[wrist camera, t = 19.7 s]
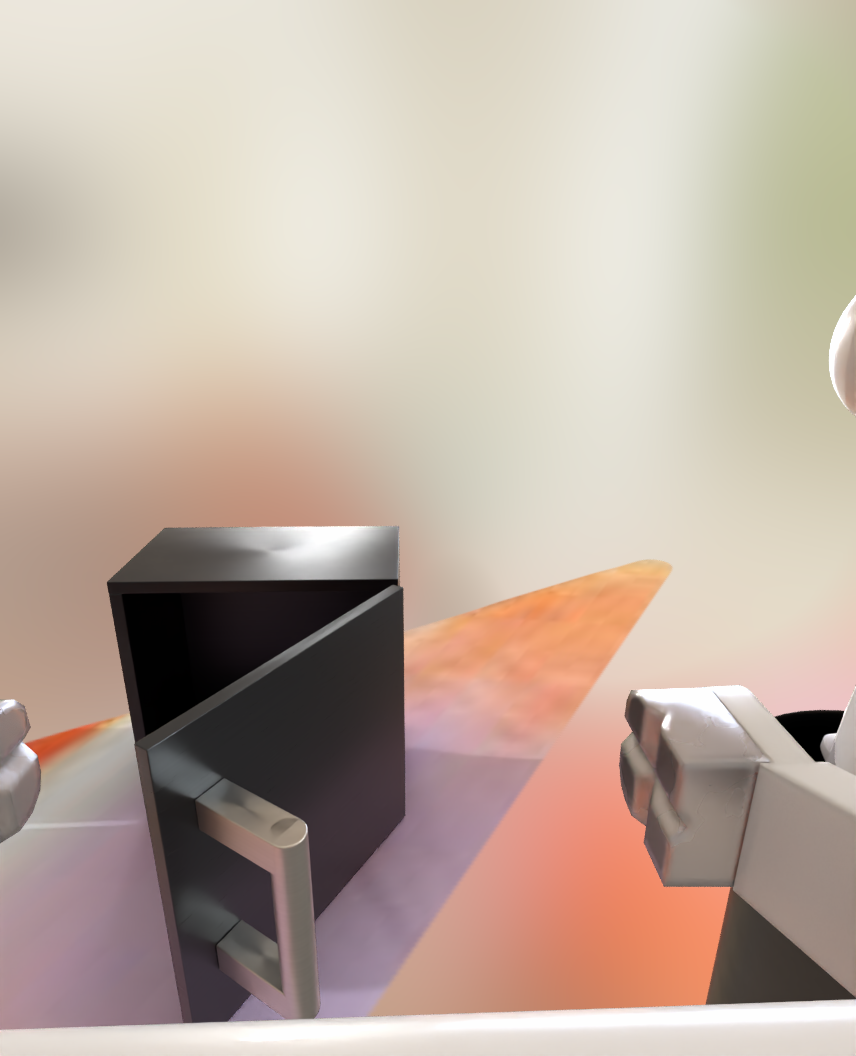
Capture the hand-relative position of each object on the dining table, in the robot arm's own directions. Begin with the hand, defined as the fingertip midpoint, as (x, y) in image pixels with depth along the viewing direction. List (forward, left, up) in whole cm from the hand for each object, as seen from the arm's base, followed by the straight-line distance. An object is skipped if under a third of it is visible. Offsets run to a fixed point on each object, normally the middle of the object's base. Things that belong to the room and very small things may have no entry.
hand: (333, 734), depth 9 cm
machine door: (-3, -19, -28) cm, 34 cm away
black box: (-1, -35, -28) cm, 45 cm away
